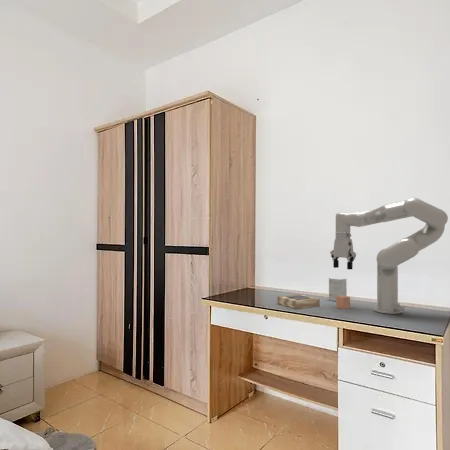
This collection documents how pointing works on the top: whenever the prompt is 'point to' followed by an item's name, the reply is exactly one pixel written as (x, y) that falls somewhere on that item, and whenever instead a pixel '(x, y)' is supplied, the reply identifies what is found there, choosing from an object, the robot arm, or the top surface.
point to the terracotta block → (343, 302)
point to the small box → (337, 288)
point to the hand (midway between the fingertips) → (342, 268)
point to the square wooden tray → (298, 301)
